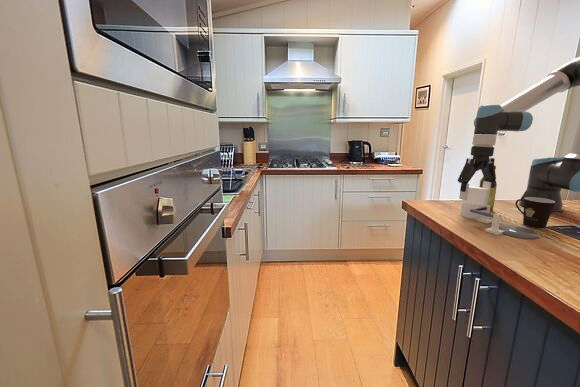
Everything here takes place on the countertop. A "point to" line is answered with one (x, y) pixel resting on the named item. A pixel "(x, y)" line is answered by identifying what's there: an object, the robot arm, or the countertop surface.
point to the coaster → (518, 232)
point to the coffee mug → (536, 211)
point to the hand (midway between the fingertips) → (473, 198)
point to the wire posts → (495, 222)
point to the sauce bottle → (491, 193)
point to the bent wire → (479, 211)
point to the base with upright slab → (474, 201)
